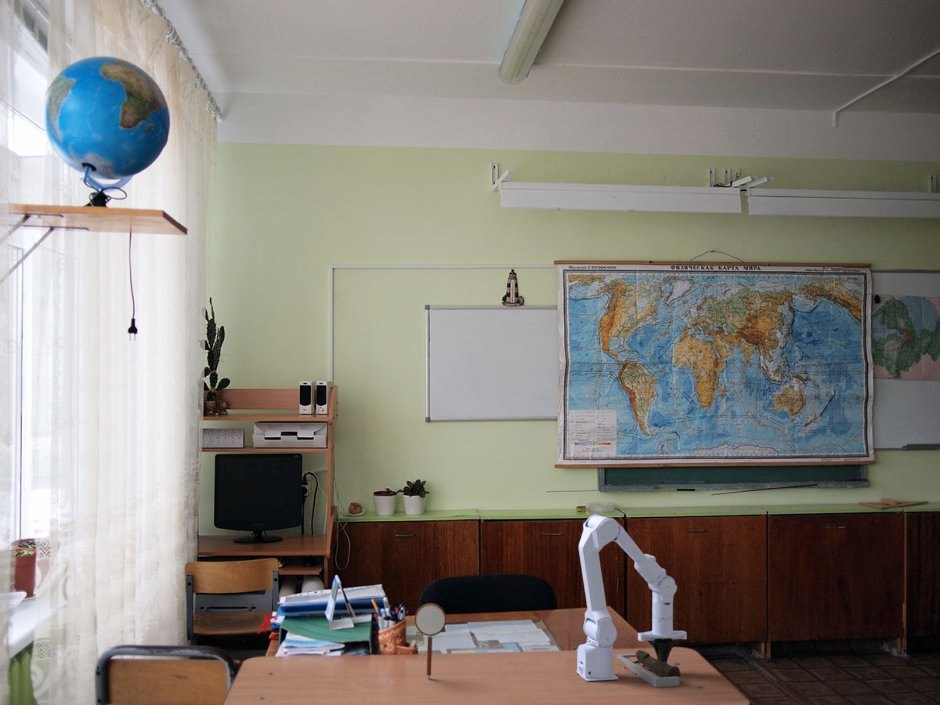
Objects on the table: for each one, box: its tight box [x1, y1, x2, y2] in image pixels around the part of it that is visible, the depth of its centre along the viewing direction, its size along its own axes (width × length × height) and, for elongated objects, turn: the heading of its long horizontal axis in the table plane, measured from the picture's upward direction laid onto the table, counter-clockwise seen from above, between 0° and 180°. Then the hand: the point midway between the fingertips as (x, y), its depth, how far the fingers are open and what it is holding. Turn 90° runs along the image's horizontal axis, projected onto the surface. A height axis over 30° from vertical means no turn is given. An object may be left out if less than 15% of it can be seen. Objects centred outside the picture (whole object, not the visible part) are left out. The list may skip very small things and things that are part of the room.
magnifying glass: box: [414, 602, 447, 680], centre depth 225 cm, size 9×2×20 cm, turn 89°
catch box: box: [616, 653, 680, 688], centre depth 234 cm, size 7×24×2 cm, turn 15°
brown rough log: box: [635, 649, 681, 679], centre depth 234 cm, size 19×4×5 cm, turn 18°
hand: (662, 665), depth 235 cm, fingers closed
